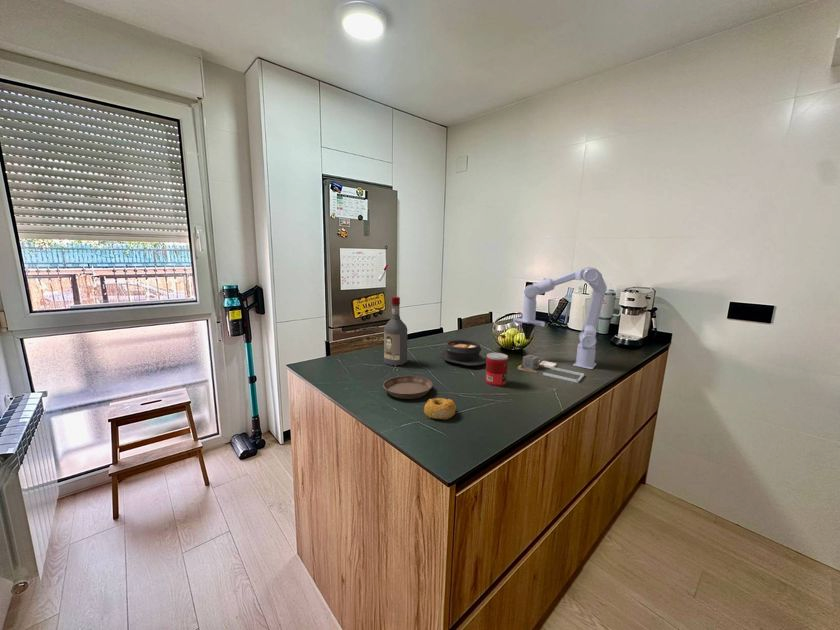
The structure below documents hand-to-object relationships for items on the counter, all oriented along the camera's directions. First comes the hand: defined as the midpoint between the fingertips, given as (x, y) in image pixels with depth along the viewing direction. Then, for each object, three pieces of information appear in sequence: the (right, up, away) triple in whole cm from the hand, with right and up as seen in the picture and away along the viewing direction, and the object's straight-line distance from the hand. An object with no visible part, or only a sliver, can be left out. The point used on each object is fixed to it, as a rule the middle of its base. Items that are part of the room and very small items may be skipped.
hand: (527, 339), depth 156 cm
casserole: (-31, -10, -2) cm, 33 cm away
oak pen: (-2, -12, -11) cm, 17 cm away
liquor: (-62, -11, -6) cm, 63 cm away
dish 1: (+1, -11, -2) cm, 11 cm away
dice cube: (-2, -12, -10) cm, 16 cm away
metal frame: (+9, -14, -19) cm, 25 cm away
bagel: (-45, -19, -53) cm, 72 cm away
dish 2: (+7, -11, -7) cm, 15 cm away
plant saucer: (-55, -16, -37) cm, 69 cm away
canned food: (-21, -15, -28) cm, 38 cm away
